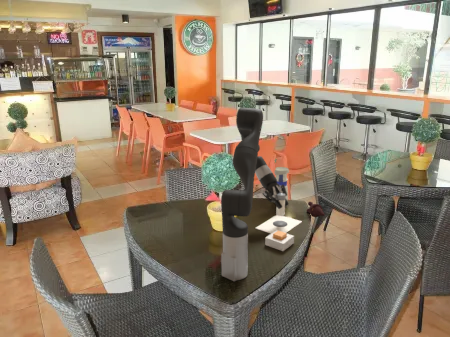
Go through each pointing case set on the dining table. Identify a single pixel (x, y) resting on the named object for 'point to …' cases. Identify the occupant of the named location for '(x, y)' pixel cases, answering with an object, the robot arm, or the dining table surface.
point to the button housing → (279, 242)
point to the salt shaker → (281, 199)
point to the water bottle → (282, 177)
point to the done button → (280, 235)
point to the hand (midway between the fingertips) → (283, 206)
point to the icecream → (315, 210)
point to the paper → (278, 224)
